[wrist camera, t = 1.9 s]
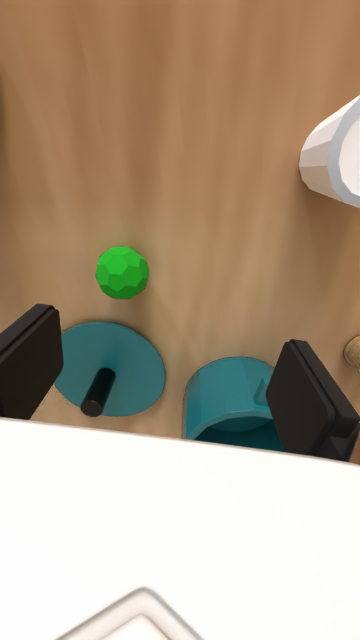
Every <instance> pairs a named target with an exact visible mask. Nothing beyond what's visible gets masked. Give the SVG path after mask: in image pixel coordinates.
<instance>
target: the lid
mask: <svg viewBox="0 0 360 640" xmlns="http://www.w3.org/2000/svg"><path fill="white" fill-rule="evenodd" d="M61 339H62V350H63V361H64V365H63V369H62V371H61V373H60V375H59V376H58V378H57V379H56V381H55V382H54V385H55V386H56V388H57V389H58V390H59V391H60V393H61V394H62V395H63V396H64V397H65V398H67V399H68V400H69V401H70V402H72V403H73V404H75V405H76V406H78V407H80V408H81V411H82V412H83V413H84V414H85V415H87V416H90V417H97V416H99V415H104V416H116V417H117V416H128V415H132V414H136V413H139V412H141V411H143V410H145V409H147V408H148V407H150V406H151V405H152V404H153V403H154V402H155V401H156V400H157V399H158V398H159V396H160V395H161V393H162V391H163V388H164V383H165V368H164V364H163V361H162V358H161V357H160V355H159V353H158V351H157V350H156V349H155V347H154V346H153V345H152V344H151V343H150V342H149V341H148V340H147V339H146V338H144V337H143V336H142V335H140V334H139V333H137V332H136V331H134V330H132V329H130V328H127V327H125V326H122V325H119V324H115V323H110V322H96V321H95V322H86V323H82V324H78V325H76V326H73V327H71V328H69V329H67V330H66V331H65V332H63V333H62V334H61Z"/></svg>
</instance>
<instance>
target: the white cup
mask: <svg viewBox="0 0 360 640" xmlns="http://www.w3.org/2000/svg"><path fill="white" fill-rule="evenodd" d="M299 170H300V174H301V178H302V181H303V182H304V183H305V184H306V185H307V187H308V188H309V189H310V190H313V191H315V192H318V193H320V194H323V195H325V196H328V197H331V198H333V199H336V200H339V201H341V202H344V203H347V204H349V205H352V206H355V207H357V208H360V95H359V96H358V97H357V98H355V99H354V100H352V101H351V102H350V103H348V104H347V105H345V106H344V107H343V108H341V109H340V110H338V111H337V112H336V113H334V114H333V115H331V116H330V117H329V118H327V119H326V120H324V121H323V122H322V123H320V124H319V125H318V126H317V127H316V128H315V129H314V130H313V131H312V133H311V134H310V135H309V136H308V137H307V139H306V141H305V144H304V146H303V148H302V150H301V152H300V160H299Z"/></svg>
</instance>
